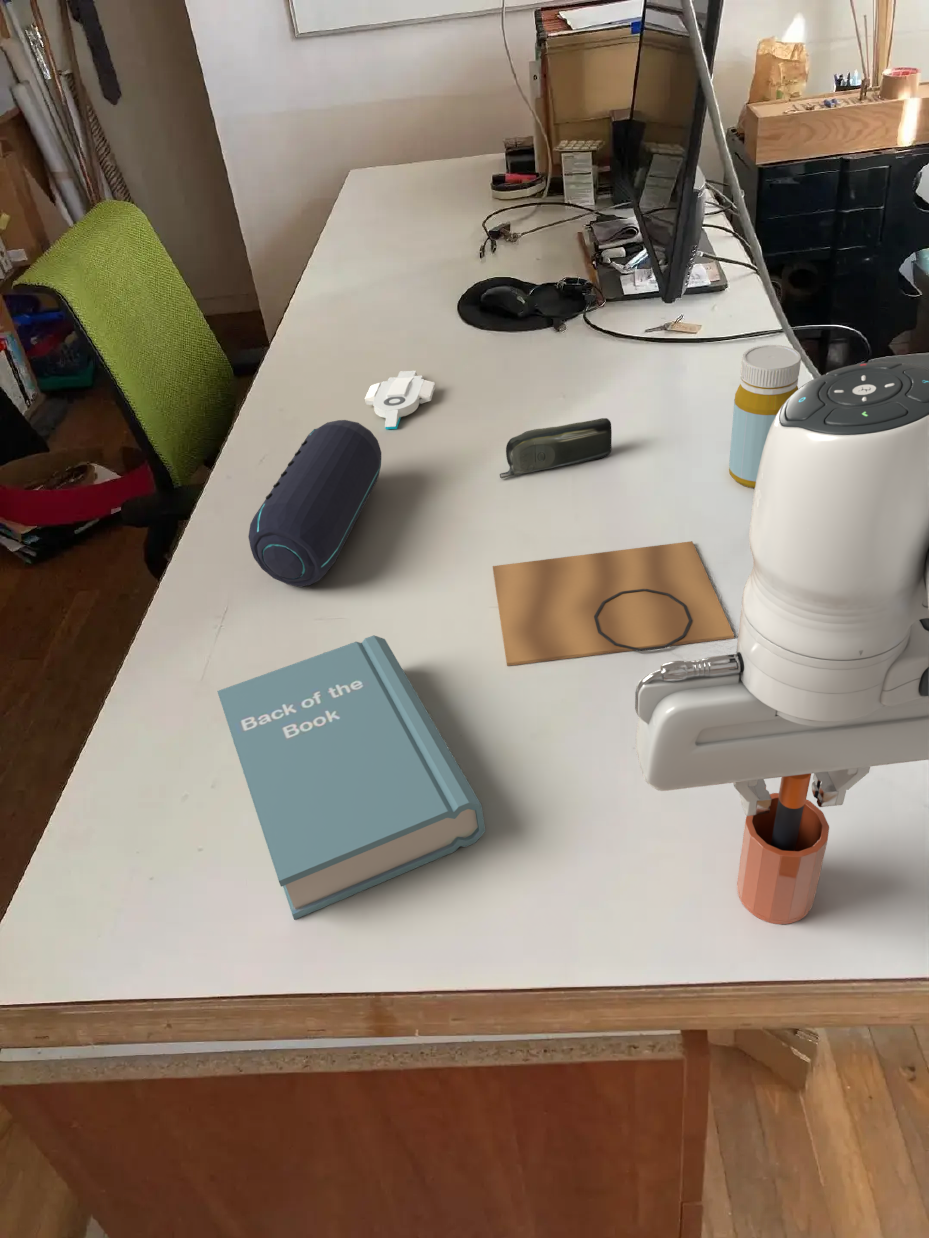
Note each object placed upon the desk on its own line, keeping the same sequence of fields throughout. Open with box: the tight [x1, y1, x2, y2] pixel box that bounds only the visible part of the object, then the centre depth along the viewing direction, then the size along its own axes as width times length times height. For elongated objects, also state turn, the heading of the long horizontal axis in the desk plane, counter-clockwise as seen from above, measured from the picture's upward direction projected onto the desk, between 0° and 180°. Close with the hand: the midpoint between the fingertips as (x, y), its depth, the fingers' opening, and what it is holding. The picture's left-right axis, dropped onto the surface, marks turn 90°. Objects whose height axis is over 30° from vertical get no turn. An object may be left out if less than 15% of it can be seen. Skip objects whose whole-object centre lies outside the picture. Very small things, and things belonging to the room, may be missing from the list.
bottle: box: [728, 344, 802, 489], centre depth 106 cm, size 7×7×15 cm
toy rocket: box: [364, 370, 436, 430], centre depth 135 cm, size 16×10×2 cm, turn 173°
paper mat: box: [492, 540, 735, 667], centre depth 95 cm, size 22×17×1 cm
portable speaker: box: [248, 419, 382, 588], centre depth 108 cm, size 25×10×10 cm, turn 168°
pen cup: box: [736, 792, 830, 925], centre depth 65 cm, size 5×5×8 cm
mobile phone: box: [499, 417, 613, 479], centre depth 116 cm, size 5×3×15 cm
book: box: [217, 635, 486, 921], centre depth 79 cm, size 23×16×5 cm
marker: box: [771, 773, 812, 851], centre depth 63 cm, size 2×2×14 cm
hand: (790, 802), depth 61 cm, fingers open, 3 cm apart
